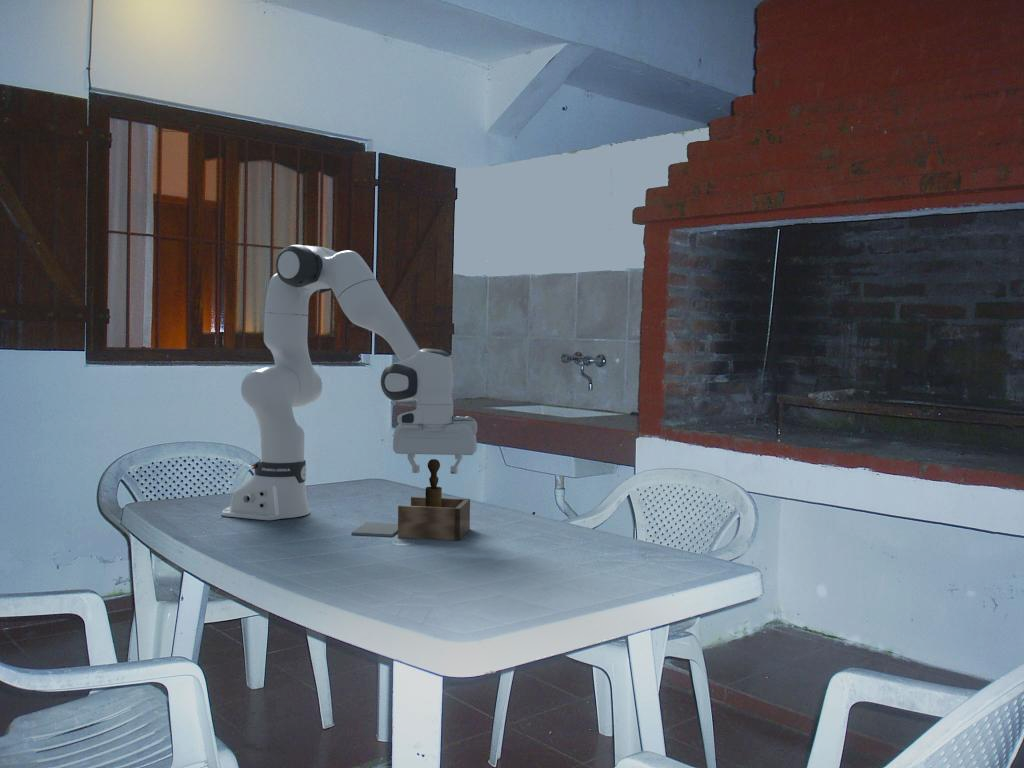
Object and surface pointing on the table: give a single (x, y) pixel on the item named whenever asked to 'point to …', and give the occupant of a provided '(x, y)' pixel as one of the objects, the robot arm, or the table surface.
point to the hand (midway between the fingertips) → (435, 473)
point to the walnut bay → (434, 519)
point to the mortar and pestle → (433, 486)
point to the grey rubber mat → (377, 529)
